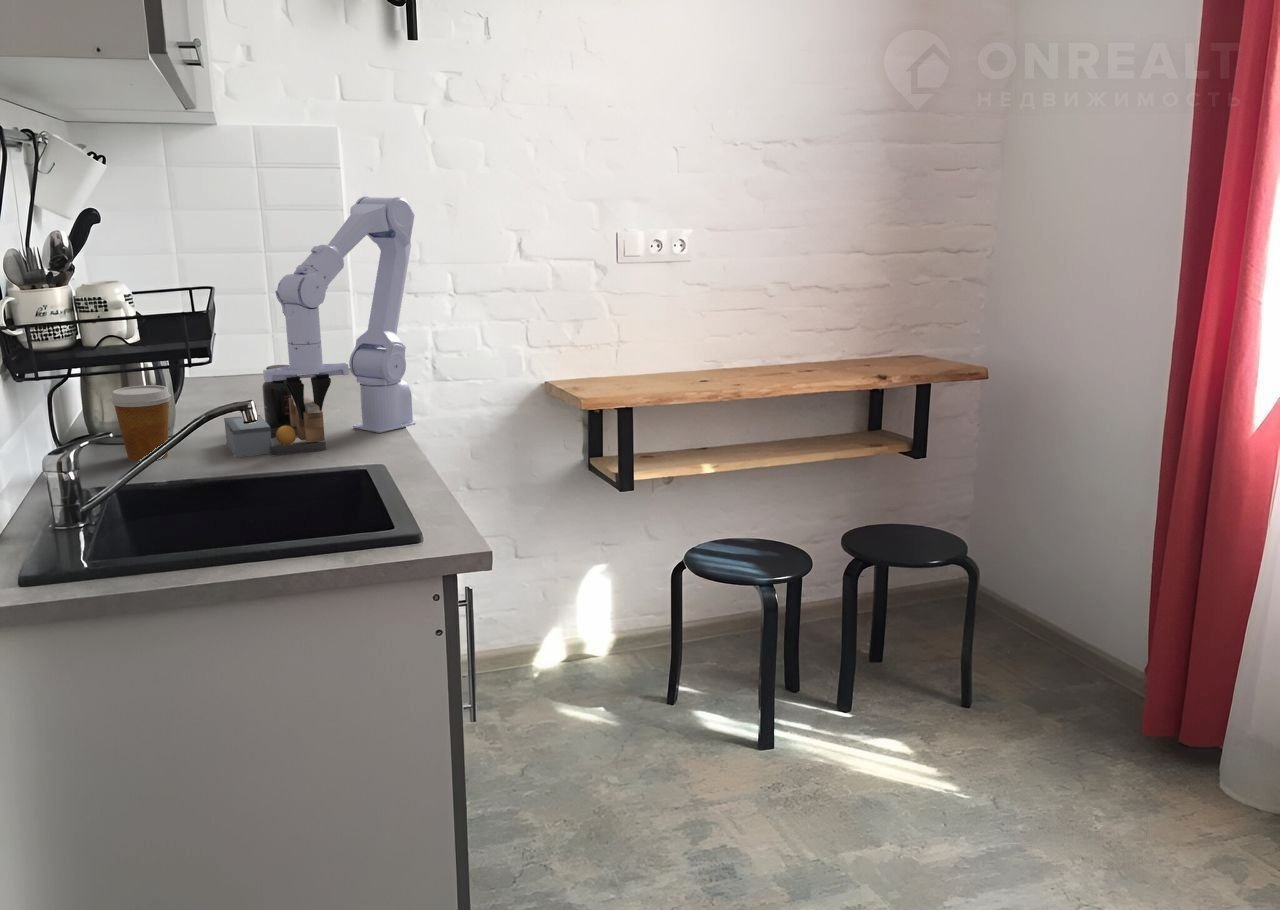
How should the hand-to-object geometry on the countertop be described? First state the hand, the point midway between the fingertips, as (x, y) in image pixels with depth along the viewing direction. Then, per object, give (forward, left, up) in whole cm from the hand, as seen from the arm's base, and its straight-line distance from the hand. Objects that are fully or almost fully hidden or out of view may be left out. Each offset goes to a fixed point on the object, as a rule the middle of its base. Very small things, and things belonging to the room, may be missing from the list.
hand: (310, 417), depth 194 cm
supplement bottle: (-7, -18, -6) cm, 20 cm away
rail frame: (+1, -5, -5) cm, 7 cm away
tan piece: (-2, -4, -5) cm, 7 cm away
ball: (+2, -5, -4) cm, 7 cm away
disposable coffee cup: (+22, -16, -6) cm, 28 cm away
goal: (+7, -8, -5) cm, 12 cm away
